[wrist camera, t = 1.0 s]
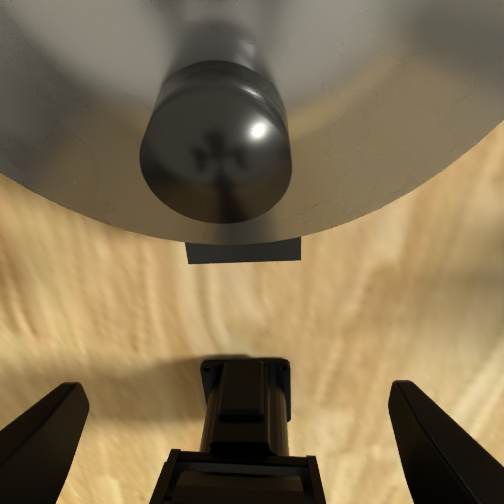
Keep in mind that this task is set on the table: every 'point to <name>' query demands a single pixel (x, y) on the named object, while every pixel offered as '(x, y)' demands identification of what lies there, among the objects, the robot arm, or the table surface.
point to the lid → (242, 108)
